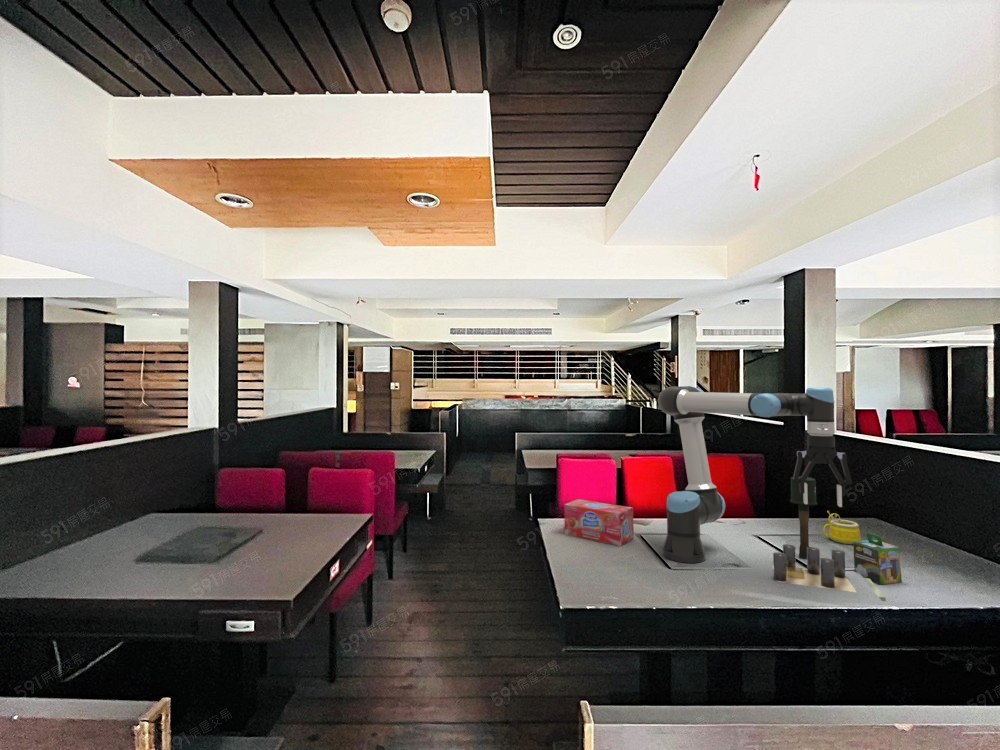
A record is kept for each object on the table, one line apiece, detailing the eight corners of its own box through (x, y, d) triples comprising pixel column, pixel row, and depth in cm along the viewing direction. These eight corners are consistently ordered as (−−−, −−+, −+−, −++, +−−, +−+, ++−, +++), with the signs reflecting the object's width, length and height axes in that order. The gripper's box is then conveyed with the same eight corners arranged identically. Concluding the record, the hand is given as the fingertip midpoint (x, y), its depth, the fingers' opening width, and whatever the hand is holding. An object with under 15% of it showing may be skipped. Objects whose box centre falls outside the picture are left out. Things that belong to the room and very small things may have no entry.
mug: (859, 540, 204) (859, 511, 204) (862, 547, 194) (861, 517, 195) (823, 535, 211) (822, 507, 211) (823, 542, 201) (822, 512, 202)
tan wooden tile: (788, 577, 160) (788, 570, 160) (786, 572, 164) (786, 566, 164) (804, 579, 158) (804, 573, 158) (802, 574, 162) (802, 568, 162)
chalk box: (902, 583, 158) (901, 537, 159) (880, 585, 156) (878, 538, 157) (874, 572, 167) (873, 529, 168) (853, 575, 165) (852, 530, 166)
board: (777, 586, 156) (777, 581, 156) (772, 569, 171) (772, 565, 171) (885, 601, 145) (885, 596, 145) (869, 581, 159) (869, 577, 159)
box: (562, 534, 213) (562, 503, 213) (578, 528, 223) (578, 498, 223) (620, 547, 195) (620, 513, 196) (634, 539, 205) (634, 507, 206)
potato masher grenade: (823, 565, 174) (821, 480, 175) (796, 563, 176) (794, 479, 177) (812, 557, 183) (811, 476, 184) (787, 555, 185) (785, 475, 186)
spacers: (774, 580, 157) (773, 555, 157) (769, 565, 170) (769, 542, 171) (855, 591, 148) (854, 564, 149) (843, 574, 162) (843, 550, 162)
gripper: (784, 434, 160) (786, 504, 159) (863, 436, 152) (865, 510, 151) (781, 432, 167) (783, 499, 166) (857, 434, 158) (859, 505, 158)
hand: (822, 504), depth 159 cm, fingers open, 9 cm apart
